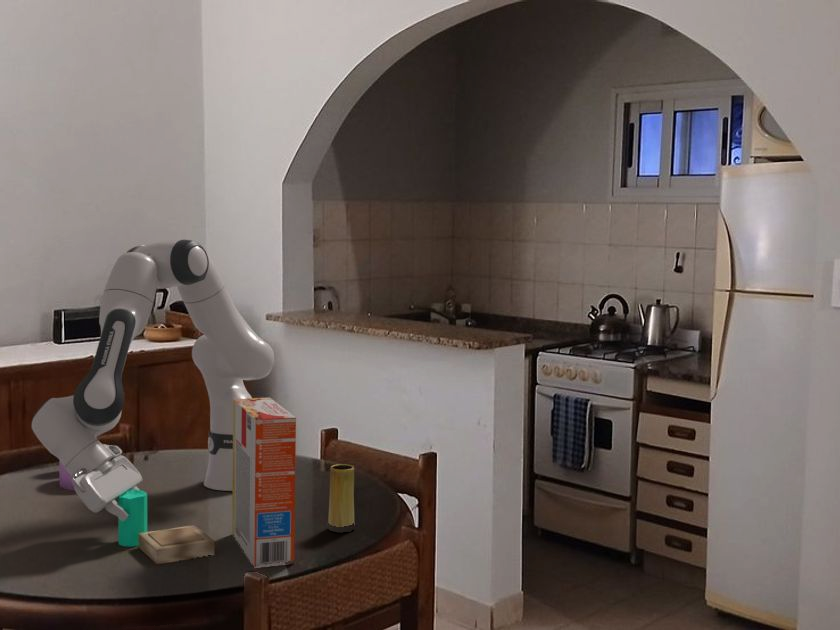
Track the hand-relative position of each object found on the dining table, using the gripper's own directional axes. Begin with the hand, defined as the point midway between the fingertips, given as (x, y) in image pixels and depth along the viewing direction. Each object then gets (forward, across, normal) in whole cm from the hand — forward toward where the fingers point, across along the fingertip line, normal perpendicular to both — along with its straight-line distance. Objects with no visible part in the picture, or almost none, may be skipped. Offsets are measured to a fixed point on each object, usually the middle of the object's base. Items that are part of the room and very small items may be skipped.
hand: (135, 512), depth 215 cm
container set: (-18, +47, +28) cm, 57 cm away
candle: (+4, 0, +5) cm, 7 cm away
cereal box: (+24, +1, -14) cm, 28 cm away
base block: (+12, -4, -3) cm, 13 cm away
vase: (+34, +18, -24) cm, 45 cm away
